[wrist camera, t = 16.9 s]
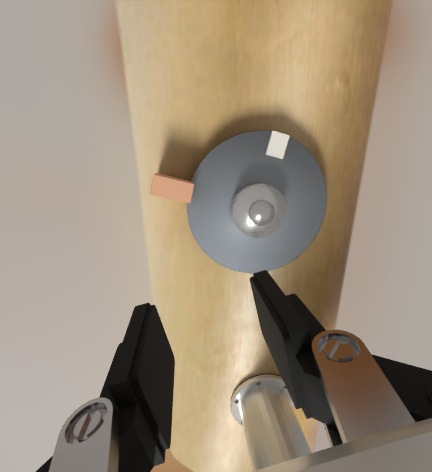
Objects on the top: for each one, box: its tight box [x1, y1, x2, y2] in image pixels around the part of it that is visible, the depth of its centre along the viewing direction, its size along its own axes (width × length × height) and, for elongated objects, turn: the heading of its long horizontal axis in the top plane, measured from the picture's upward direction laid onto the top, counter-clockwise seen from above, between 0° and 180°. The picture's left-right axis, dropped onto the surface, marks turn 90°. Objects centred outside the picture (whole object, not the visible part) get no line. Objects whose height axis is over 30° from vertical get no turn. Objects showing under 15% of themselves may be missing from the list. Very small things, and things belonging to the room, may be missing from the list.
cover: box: [230, 183, 287, 238], centre depth 33 cm, size 7×7×4 cm
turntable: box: [150, 131, 327, 273], centre depth 35 cm, size 25×20×4 cm
